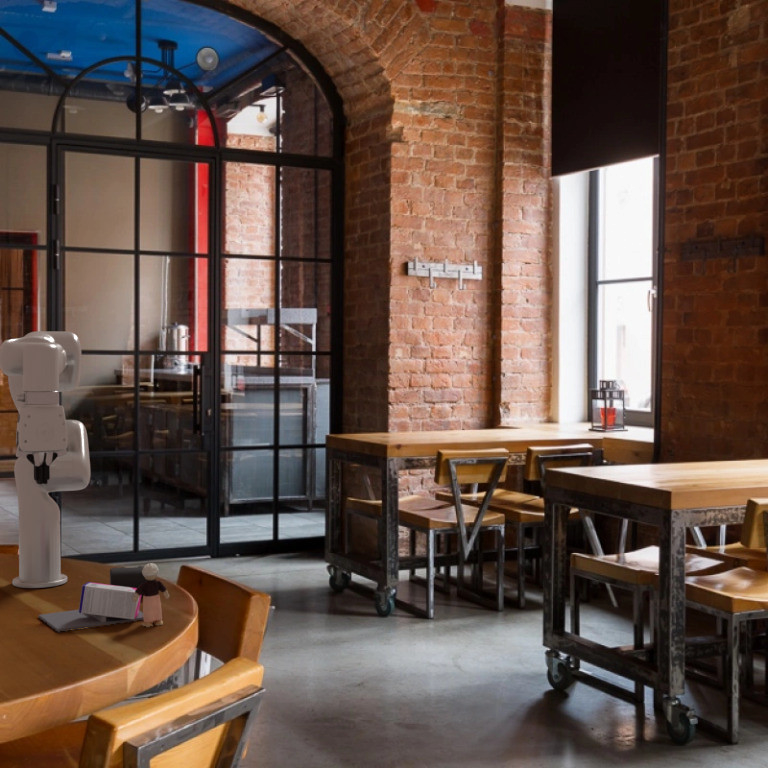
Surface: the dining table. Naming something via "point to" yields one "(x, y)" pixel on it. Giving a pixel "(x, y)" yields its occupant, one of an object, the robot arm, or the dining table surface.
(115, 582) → the end cap
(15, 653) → the dining table surface
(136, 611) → the supplement box
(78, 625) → the mat
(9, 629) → the dining table surface
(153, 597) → the grandmother figurine
